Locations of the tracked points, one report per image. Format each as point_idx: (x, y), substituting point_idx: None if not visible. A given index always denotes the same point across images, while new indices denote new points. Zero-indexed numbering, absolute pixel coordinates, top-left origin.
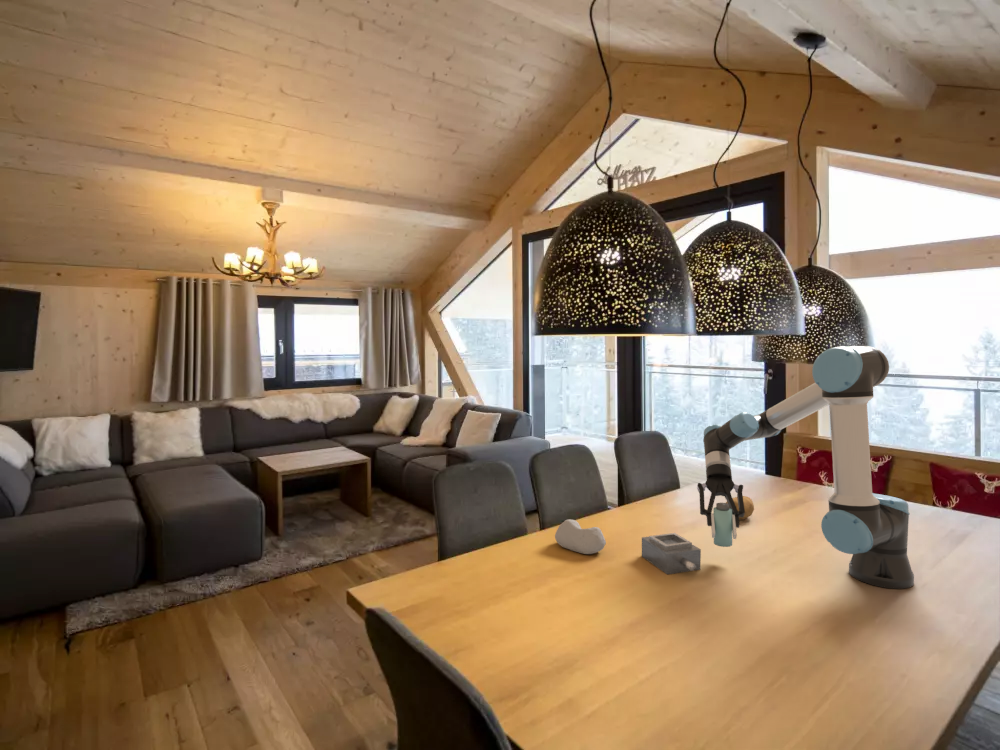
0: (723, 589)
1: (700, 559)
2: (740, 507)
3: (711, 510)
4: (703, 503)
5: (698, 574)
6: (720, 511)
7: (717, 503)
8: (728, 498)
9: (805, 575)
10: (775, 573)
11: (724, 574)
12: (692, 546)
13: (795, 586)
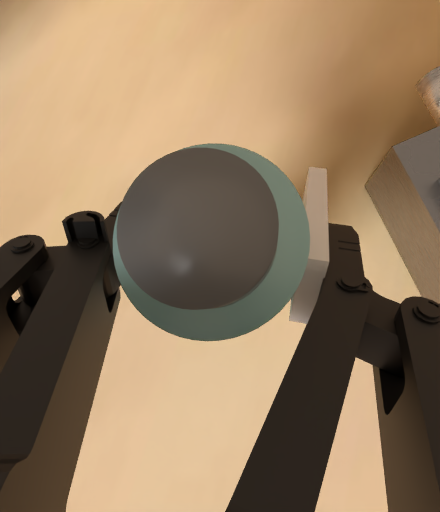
0: (315, 28)
1: (376, 169)
2: (7, 275)
3: (319, 296)
4: (429, 383)
5: (381, 138)
6: (256, 153)
7: (253, 268)
8: (46, 398)
9: (6, 179)
10: (92, 184)
11: (277, 152)
12: (432, 184)
13: (75, 91)
